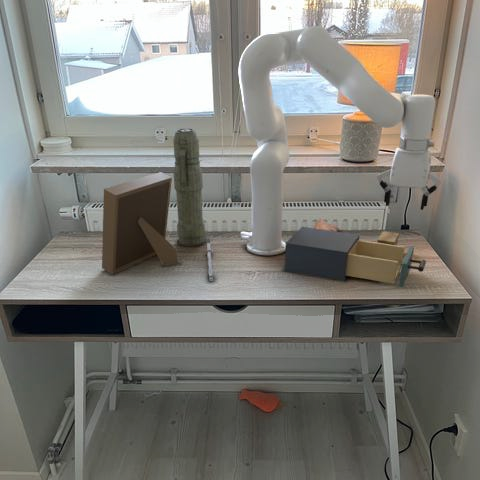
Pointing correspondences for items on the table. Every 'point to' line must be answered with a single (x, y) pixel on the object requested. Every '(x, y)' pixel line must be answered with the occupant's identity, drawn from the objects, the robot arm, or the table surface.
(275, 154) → the robot arm
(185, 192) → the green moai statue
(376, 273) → the drawer
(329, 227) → the sunglasses case
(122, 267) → the photo frame
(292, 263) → the cabinet
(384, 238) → the box
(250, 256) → the table surface
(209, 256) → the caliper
